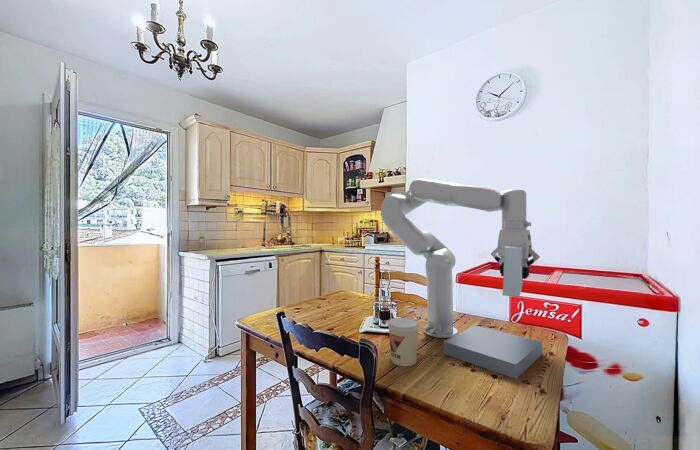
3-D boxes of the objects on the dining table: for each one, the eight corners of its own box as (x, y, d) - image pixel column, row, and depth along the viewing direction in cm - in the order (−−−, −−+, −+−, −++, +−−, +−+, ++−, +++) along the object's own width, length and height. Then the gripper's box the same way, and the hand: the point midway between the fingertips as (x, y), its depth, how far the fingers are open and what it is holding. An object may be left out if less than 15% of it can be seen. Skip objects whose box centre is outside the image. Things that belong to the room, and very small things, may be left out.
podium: (516, 379, 83) (516, 364, 82) (443, 353, 99) (443, 341, 99) (542, 354, 97) (542, 341, 97) (475, 335, 114) (475, 325, 114)
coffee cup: (383, 357, 97) (382, 320, 97) (407, 351, 101) (407, 315, 101) (399, 370, 89) (398, 329, 88) (425, 363, 92) (424, 324, 92)
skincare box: (521, 298, 96) (521, 247, 96) (502, 296, 99) (502, 247, 98) (524, 285, 114) (524, 243, 113) (507, 284, 117) (507, 242, 116)
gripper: (545, 225, 102) (545, 279, 102) (493, 225, 115) (493, 272, 115) (538, 226, 97) (538, 282, 97) (484, 225, 110) (484, 275, 110)
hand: (514, 276), depth 106 cm, fingers closed on skincare box, 6 cm apart
